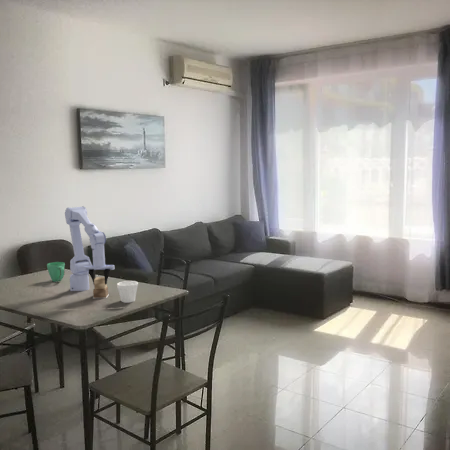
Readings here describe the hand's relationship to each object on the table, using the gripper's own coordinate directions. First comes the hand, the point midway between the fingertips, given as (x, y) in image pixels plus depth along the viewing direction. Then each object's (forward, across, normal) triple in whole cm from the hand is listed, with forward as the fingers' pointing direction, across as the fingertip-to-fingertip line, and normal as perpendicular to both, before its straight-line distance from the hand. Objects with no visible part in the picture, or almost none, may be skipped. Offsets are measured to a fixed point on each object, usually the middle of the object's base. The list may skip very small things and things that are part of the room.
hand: (100, 284), depth 253 cm
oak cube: (+2, 0, 0) cm, 2 cm away
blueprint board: (+7, +3, +3) cm, 8 cm away
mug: (+7, -32, +39) cm, 51 cm away
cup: (+7, +15, -10) cm, 19 cm away
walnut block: (+6, 0, 0) cm, 6 cm away
